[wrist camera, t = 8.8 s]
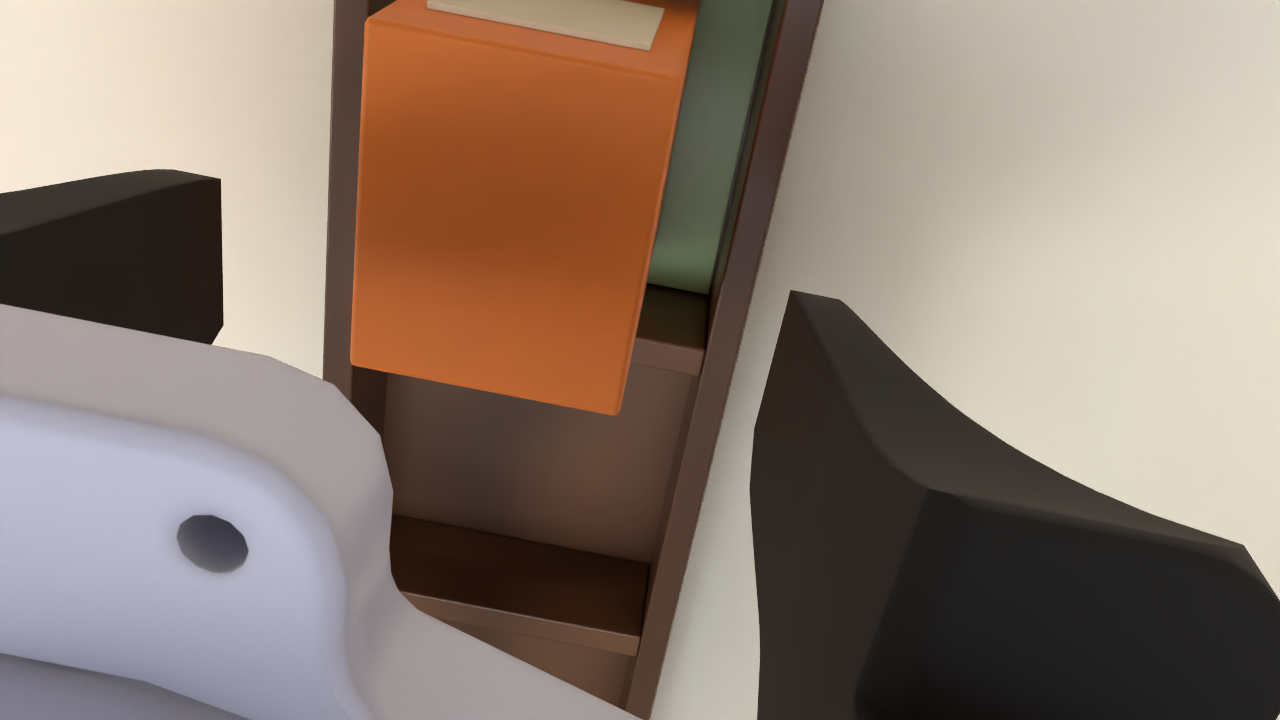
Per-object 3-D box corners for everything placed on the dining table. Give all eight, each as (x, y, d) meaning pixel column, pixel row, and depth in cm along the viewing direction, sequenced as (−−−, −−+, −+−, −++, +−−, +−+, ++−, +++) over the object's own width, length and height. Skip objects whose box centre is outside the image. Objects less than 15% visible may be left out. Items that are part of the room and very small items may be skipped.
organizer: (824, -71, 19) (836, -50, 16) (624, 776, 29) (613, 871, 27) (393, -155, 19) (337, -147, 16) (347, 723, 29) (308, 812, 27)
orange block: (703, -15, 19) (684, 70, 13) (653, 250, 21) (618, 420, 16) (480, -58, 19) (362, 9, 13) (455, 211, 21) (347, 367, 16)
